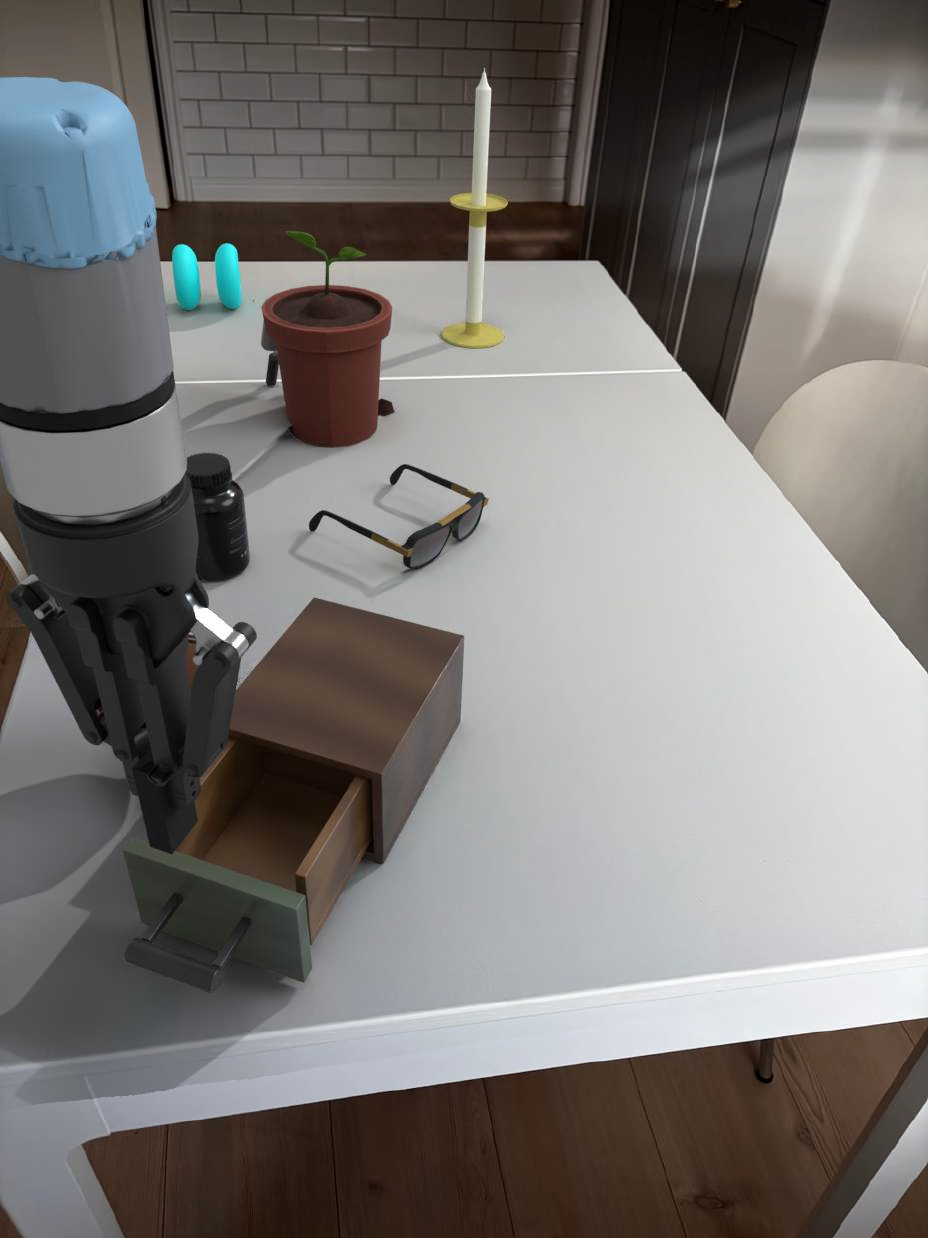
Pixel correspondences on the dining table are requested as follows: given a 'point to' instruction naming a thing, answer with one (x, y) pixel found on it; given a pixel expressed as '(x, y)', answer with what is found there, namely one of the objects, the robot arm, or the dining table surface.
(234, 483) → the supplement bottle
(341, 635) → the cabinet
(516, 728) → the dining table surface
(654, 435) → the dining table surface
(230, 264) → the donuts
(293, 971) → the drawer
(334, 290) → the potted plant
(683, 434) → the dining table surface
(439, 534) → the sunglasses
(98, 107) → the robot arm
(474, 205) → the candle
